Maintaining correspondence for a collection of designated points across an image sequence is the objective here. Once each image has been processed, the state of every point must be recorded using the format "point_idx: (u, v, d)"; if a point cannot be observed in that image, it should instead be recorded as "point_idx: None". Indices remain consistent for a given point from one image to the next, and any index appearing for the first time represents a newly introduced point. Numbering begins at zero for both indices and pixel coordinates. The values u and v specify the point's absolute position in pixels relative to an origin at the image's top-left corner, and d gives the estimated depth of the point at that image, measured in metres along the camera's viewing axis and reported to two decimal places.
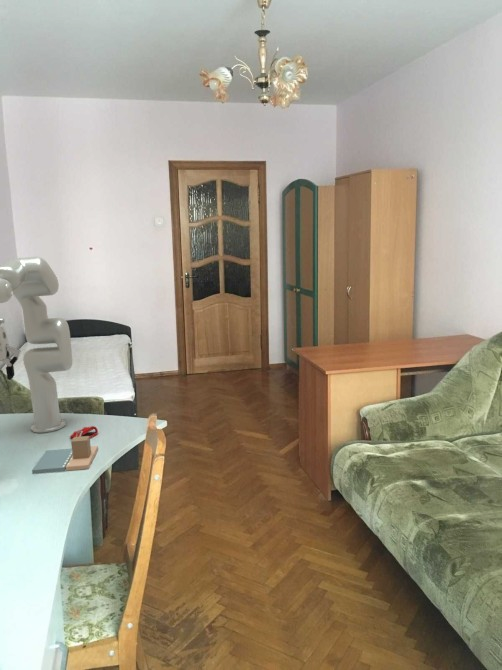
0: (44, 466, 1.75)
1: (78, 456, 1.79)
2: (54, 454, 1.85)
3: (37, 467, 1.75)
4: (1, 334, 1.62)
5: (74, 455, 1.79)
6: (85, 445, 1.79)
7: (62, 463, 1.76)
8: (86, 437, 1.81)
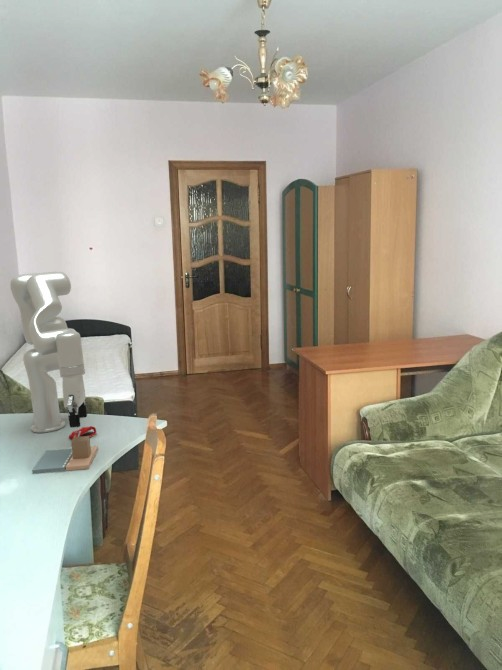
0: (44, 466, 1.75)
1: (78, 456, 1.79)
2: (54, 454, 1.85)
3: (37, 467, 1.75)
4: None
5: (74, 455, 1.79)
6: (85, 445, 1.79)
7: (62, 463, 1.76)
8: (86, 437, 1.81)
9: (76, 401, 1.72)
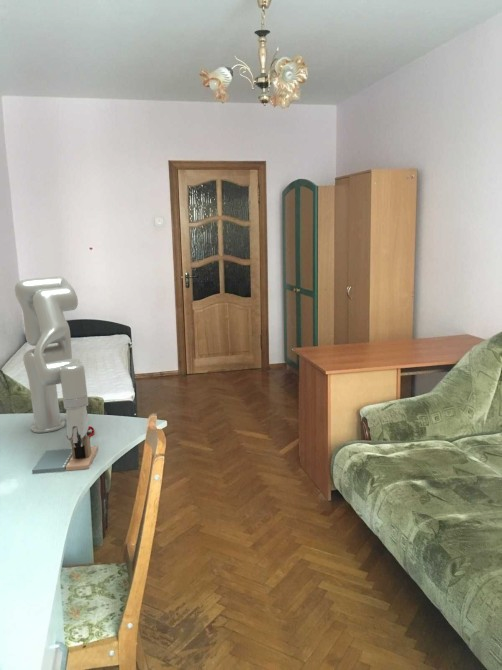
0: (44, 466, 1.75)
1: None
2: (54, 454, 1.85)
3: (37, 467, 1.75)
4: None
5: (74, 455, 1.79)
6: (85, 445, 1.79)
7: (62, 463, 1.76)
8: (86, 437, 1.81)
9: (80, 436, 1.76)
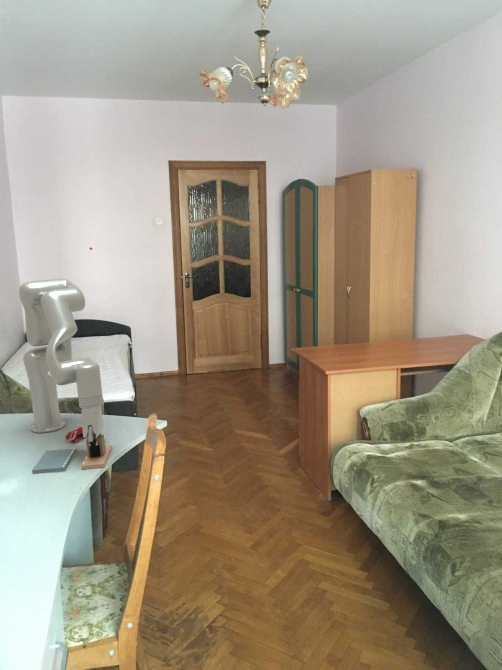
0: (44, 466, 1.75)
1: None
2: (54, 454, 1.85)
3: (37, 467, 1.75)
4: None
5: (89, 454, 1.79)
6: (100, 444, 1.79)
7: (62, 463, 1.76)
8: (101, 436, 1.81)
9: (96, 435, 1.76)
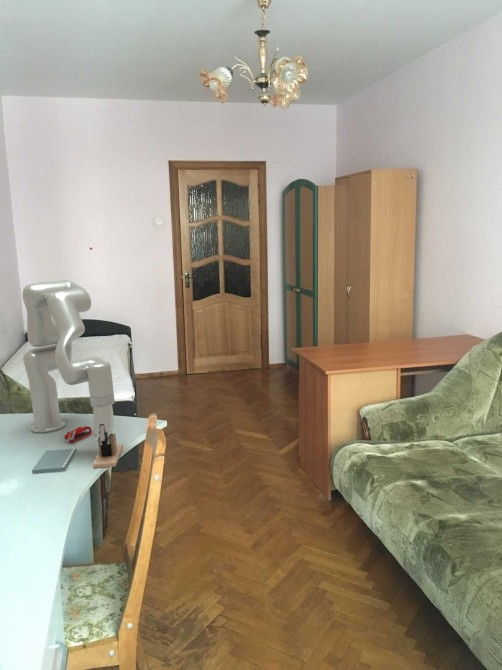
0: (44, 466, 1.75)
1: None
2: (54, 454, 1.85)
3: (37, 467, 1.75)
4: None
5: (100, 453, 1.79)
6: (111, 443, 1.79)
7: (62, 463, 1.76)
8: (112, 435, 1.81)
9: (107, 434, 1.76)
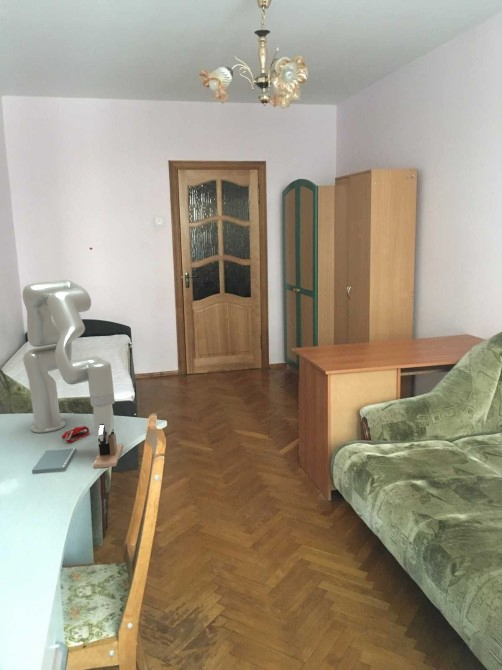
0: (44, 466, 1.75)
1: None
2: (54, 454, 1.85)
3: (37, 467, 1.75)
4: None
5: None
6: (111, 443, 1.79)
7: (62, 463, 1.76)
8: (112, 435, 1.81)
9: (106, 430, 1.75)
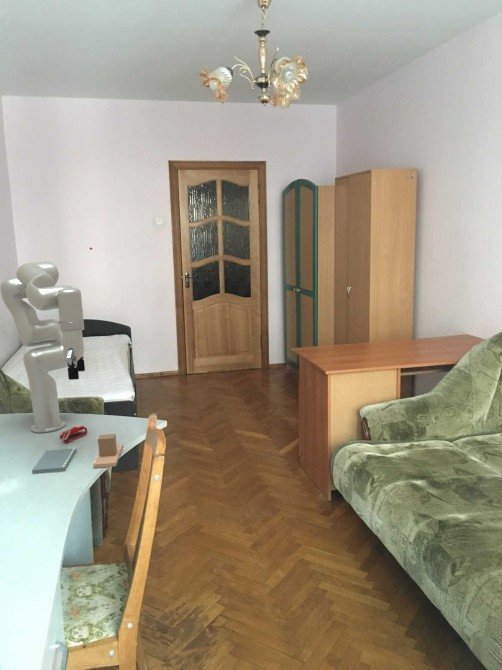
0: (44, 466, 1.75)
1: (104, 454, 1.80)
2: (54, 454, 1.85)
3: (37, 467, 1.75)
4: None
5: (101, 453, 1.79)
6: (111, 443, 1.79)
7: (62, 463, 1.76)
8: (112, 435, 1.81)
9: (75, 355, 1.80)
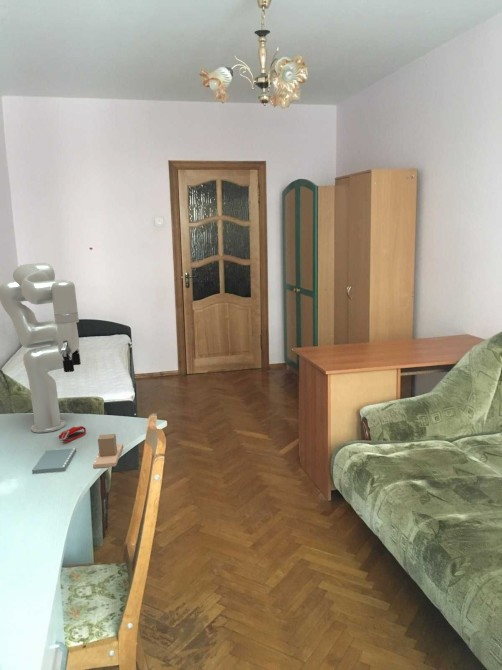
0: (44, 466, 1.75)
1: (104, 454, 1.80)
2: (54, 454, 1.85)
3: (37, 467, 1.75)
4: None
5: (101, 453, 1.79)
6: (111, 443, 1.79)
7: (62, 463, 1.76)
8: (112, 435, 1.81)
9: (70, 347, 1.81)
